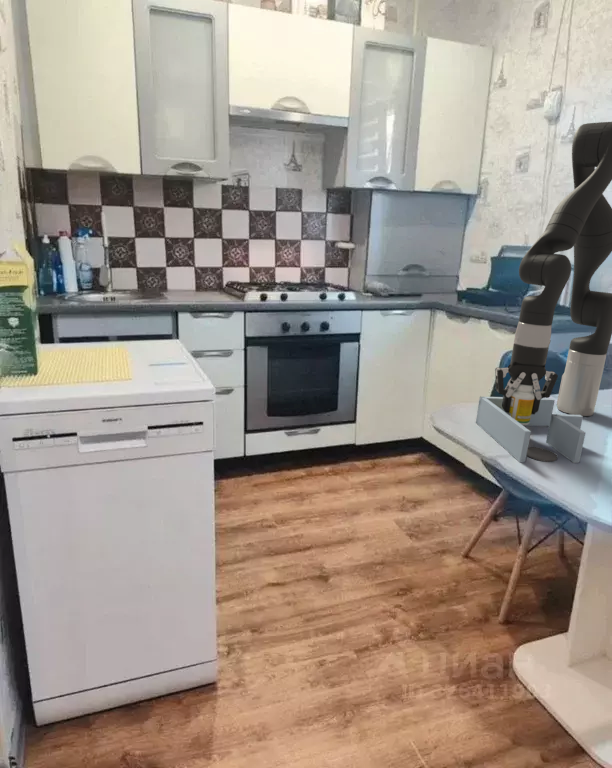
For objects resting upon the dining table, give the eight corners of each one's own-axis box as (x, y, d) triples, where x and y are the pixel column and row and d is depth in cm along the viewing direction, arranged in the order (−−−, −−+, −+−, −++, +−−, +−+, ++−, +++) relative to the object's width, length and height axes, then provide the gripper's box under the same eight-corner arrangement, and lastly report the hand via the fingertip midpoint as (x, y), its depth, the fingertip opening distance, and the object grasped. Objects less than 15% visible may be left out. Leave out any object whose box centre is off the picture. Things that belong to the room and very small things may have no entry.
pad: (517, 448, 122) (517, 446, 122) (546, 448, 123) (547, 447, 123) (532, 461, 116) (533, 459, 115) (563, 461, 116) (564, 460, 116)
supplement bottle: (501, 421, 129) (508, 382, 127) (512, 416, 133) (518, 379, 130) (523, 427, 126) (530, 388, 123) (533, 423, 129) (540, 384, 126)
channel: (475, 422, 137) (479, 396, 135) (547, 424, 139) (552, 398, 137) (519, 462, 115) (525, 431, 113) (604, 463, 117) (611, 433, 115)
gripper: (558, 341, 127) (544, 409, 132) (495, 337, 128) (484, 404, 133) (570, 348, 120) (555, 420, 124) (503, 343, 121) (492, 415, 125)
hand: (519, 412), depth 129 cm, fingers closed on supplement bottle, 5 cm apart
